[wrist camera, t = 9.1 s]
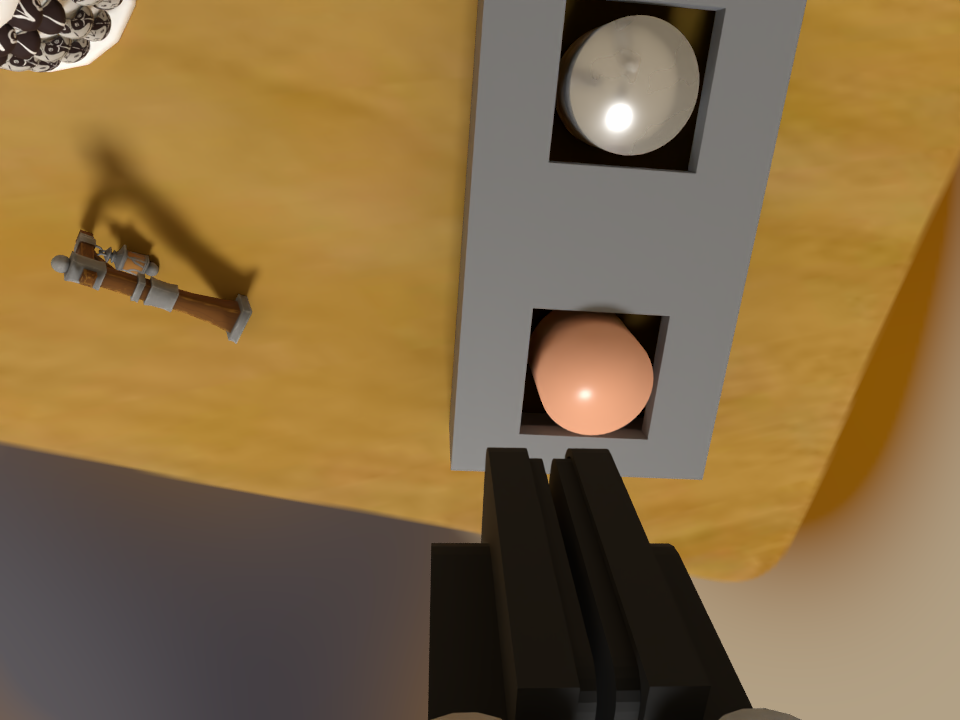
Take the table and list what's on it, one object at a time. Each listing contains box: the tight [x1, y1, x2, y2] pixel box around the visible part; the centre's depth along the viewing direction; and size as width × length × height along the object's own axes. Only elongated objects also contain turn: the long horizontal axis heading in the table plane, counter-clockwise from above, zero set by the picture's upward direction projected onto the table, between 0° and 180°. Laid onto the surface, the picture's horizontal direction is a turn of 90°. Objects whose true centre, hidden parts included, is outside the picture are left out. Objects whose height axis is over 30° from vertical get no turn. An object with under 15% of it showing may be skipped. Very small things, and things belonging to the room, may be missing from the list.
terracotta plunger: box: [528, 310, 653, 435], centre depth 32 cm, size 5×5×4 cm
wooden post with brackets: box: [51, 230, 252, 344], centre depth 31 cm, size 2×8×4 cm, turn 59°
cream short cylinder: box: [555, 15, 699, 155], centre depth 28 cm, size 5×5×4 cm
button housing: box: [449, 0, 807, 480], centre depth 31 cm, size 22×12×4 cm, turn 176°
